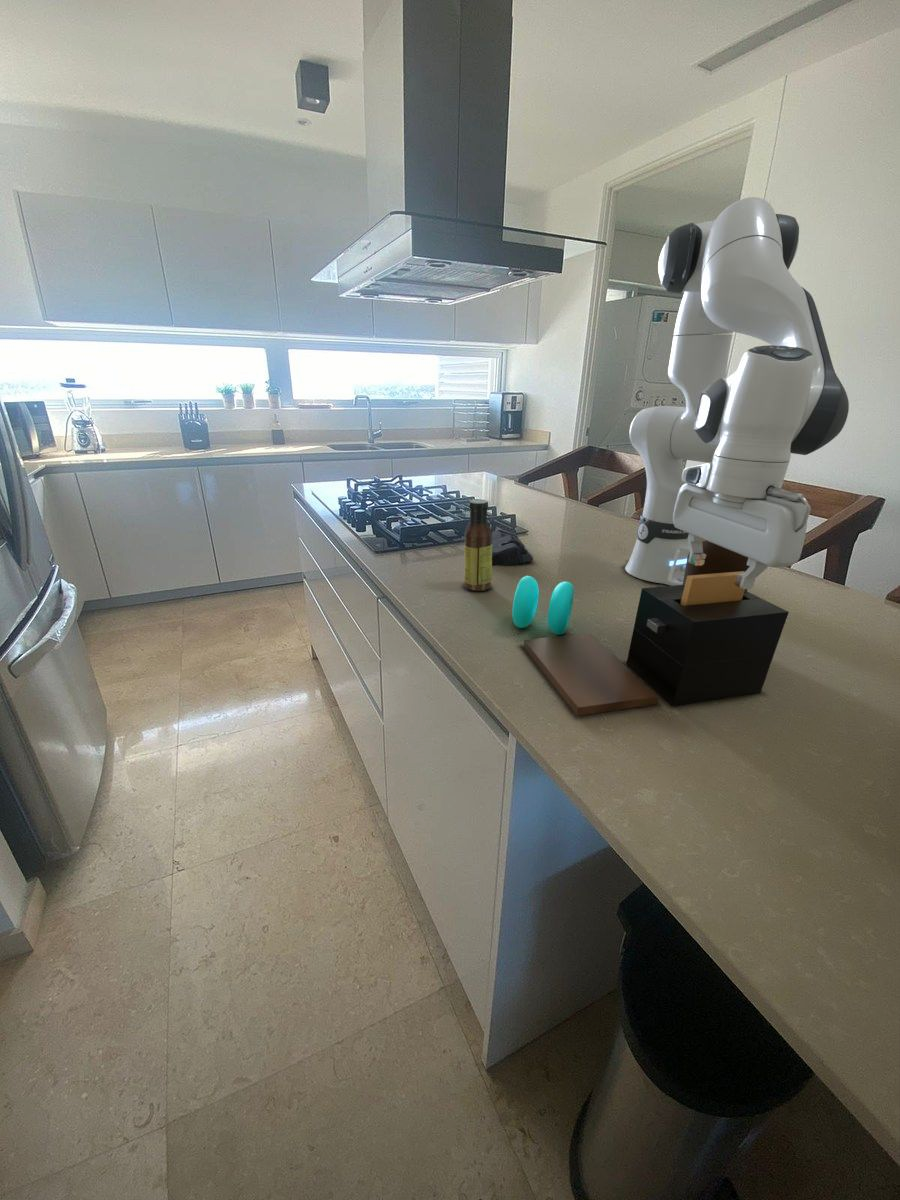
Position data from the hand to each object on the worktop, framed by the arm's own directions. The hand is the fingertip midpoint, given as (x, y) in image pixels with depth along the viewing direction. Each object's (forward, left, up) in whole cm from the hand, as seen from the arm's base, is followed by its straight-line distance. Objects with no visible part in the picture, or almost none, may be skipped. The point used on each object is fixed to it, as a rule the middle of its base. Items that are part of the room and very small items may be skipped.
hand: (717, 575), depth 71 cm
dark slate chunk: (+9, -66, -18) cm, 69 cm away
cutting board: (+16, -5, -18) cm, 25 cm away
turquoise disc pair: (+17, -21, -18) cm, 32 cm away
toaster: (0, 0, -18) cm, 18 cm away
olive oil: (-11, -11, -18) cm, 24 cm away
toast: (0, 0, -11) cm, 11 cm away
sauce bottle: (+23, -43, -18) cm, 52 cm away
